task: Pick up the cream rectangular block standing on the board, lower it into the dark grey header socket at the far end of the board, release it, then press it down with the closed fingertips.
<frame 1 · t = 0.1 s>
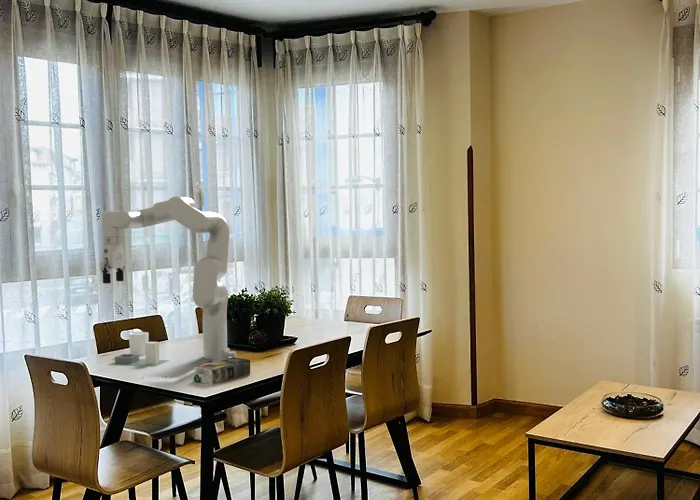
hand: (113, 282, 292), 31 cm above the table, tool pointing down, fingers open, 9 cm apart
board: (138, 366, 273), on the table
juice carton: (222, 379, 252), on the table
white cup: (139, 357, 291), on the table
cream rectangular block: (152, 363, 272), point 1 cm above the table, touching board
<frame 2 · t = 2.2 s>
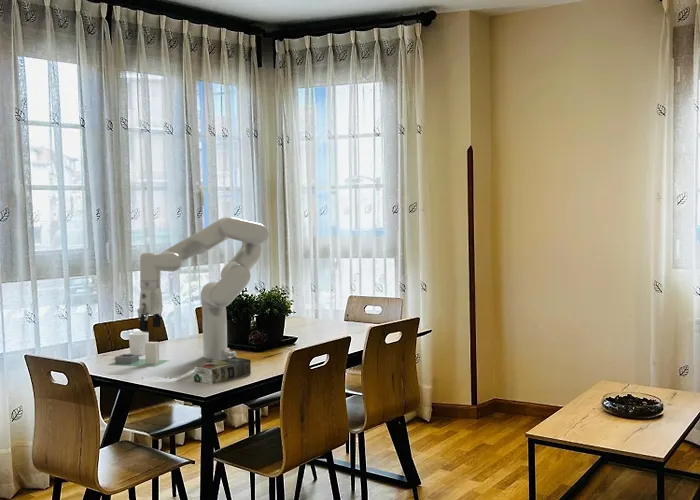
hand: (150, 328, 271), 15 cm above the table, tool pointing down, fingers open, 9 cm apart
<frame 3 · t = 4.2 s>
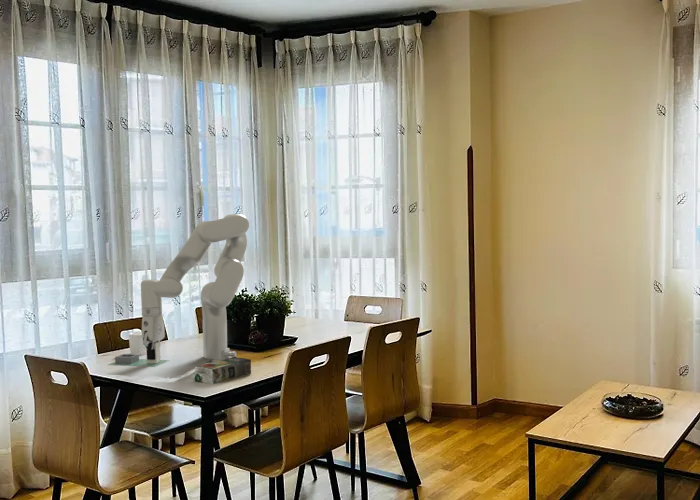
hand: (153, 358, 272), 3 cm above the table, tool pointing down, fingers closed on cream rectangular block, 3 cm apart
cream rectangular block: (153, 362, 272), point 2 cm above the table, touching gripper
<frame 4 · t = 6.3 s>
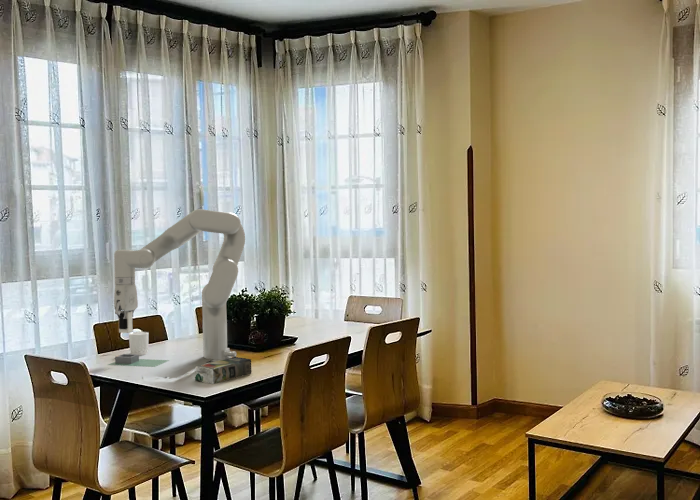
hand: (125, 327, 273), 15 cm above the table, tool pointing down, fingers closed on cream rectangular block, 3 cm apart
cream rectangular block: (125, 332, 273), point 13 cm above the table, touching gripper
when the fingers open (4 cm above the table, at t = 8.7 s): cream rectangular block stays where it is, resting on board.
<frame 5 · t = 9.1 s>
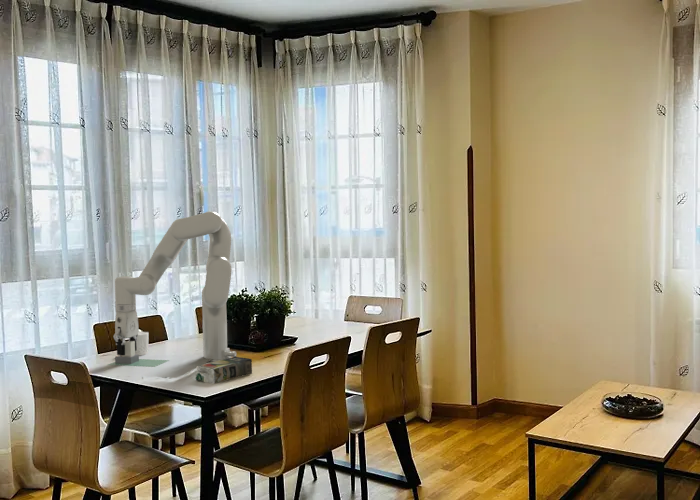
hand: (127, 352, 274), 5 cm above the table, tool pointing down, fingers open, 7 cm apart
cream rectangular block: (128, 362, 274), point 1 cm above the table, touching board
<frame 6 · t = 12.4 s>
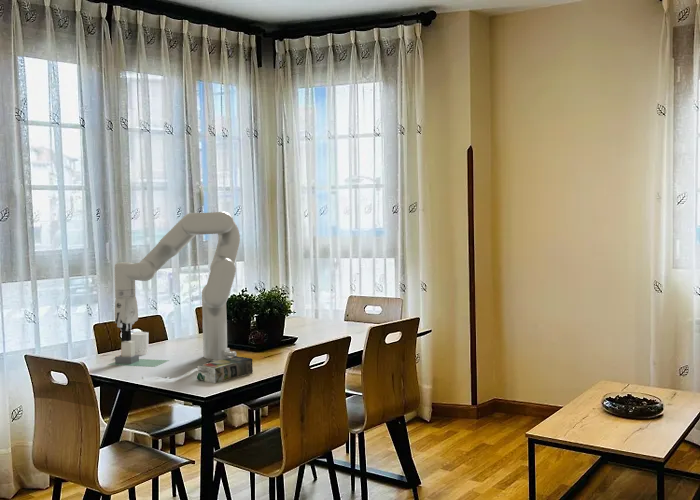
hand: (126, 340, 274), 10 cm above the table, tool pointing down, fingers closed
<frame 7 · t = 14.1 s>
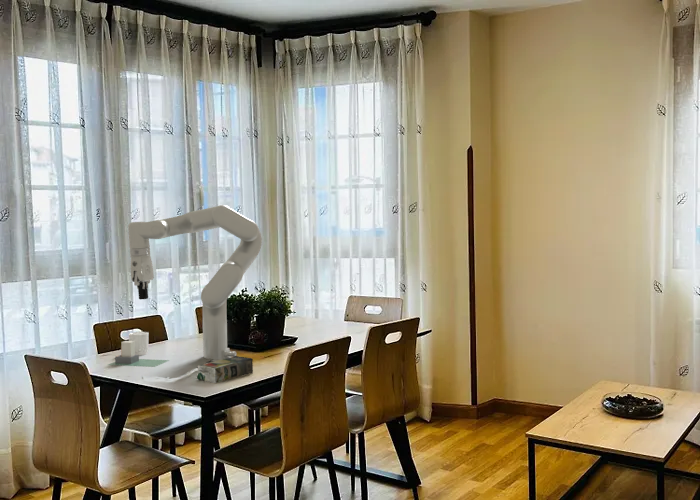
hand: (143, 298, 278), 26 cm above the table, tool pointing down, fingers closed
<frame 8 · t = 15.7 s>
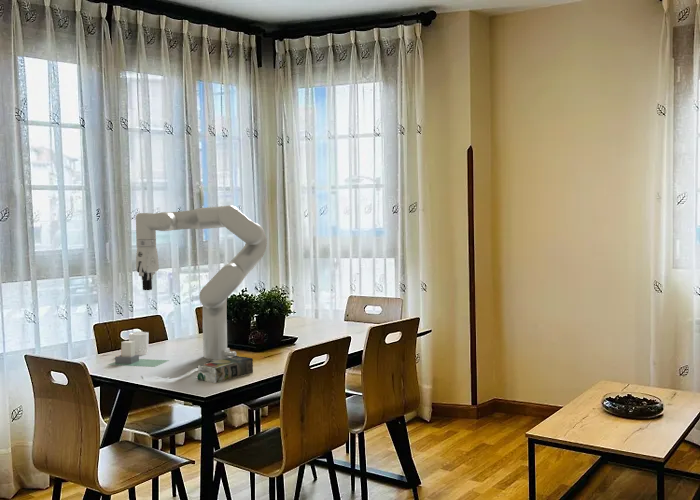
hand: (147, 289, 279), 29 cm above the table, tool pointing down, fingers closed
at the end: cream rectangular block 0.6 cm from the target spot on the board, point 1.5 cm above the board's base; cream rectangular block tilted 0°; the gripper is holding nothing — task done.
